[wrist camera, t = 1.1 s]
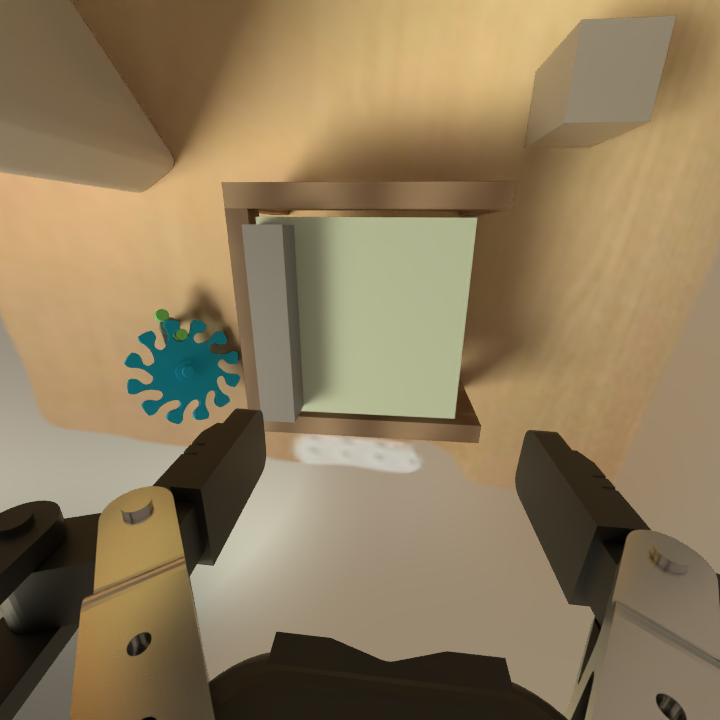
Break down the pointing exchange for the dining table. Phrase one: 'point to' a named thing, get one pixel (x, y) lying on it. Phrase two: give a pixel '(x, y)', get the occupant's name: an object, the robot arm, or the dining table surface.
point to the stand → (421, 196)
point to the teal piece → (182, 368)
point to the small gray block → (598, 82)
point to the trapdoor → (358, 313)
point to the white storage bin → (69, 104)
